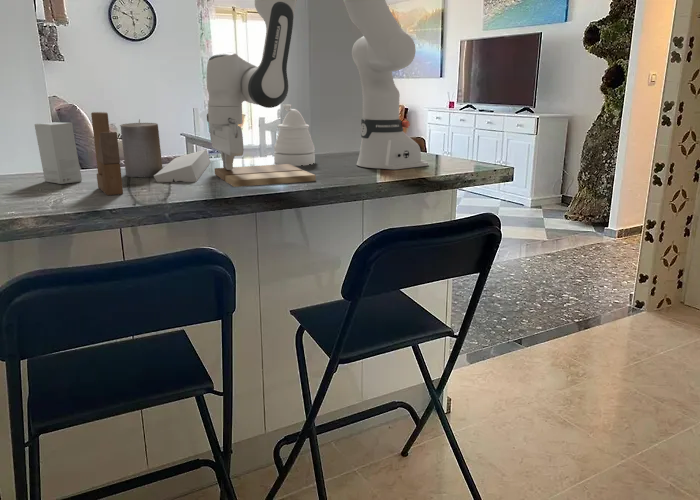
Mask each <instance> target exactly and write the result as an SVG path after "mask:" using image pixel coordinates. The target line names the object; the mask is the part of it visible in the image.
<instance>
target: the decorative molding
mask: <svg viewBox="0 0 700 500" xmlns="http://www.w3.org/2000/svg"><path fill="white" fill-rule="evenodd" d="M210 164H211V159H210V156H209V153H208V151H207V149H202V150H198V151H193V152H192V153H187V154H184V155H181V156H177V157H174V159H172V160H171V161H170V162H168V163H167V164H166V165H165V166H164V167H162V169H161V170H160V171H159V172H158V173H156V174H155V175H154V176H153V178H154V179H155V181H156V182H157V183H163V182H164V183H173V182H175V183H176V182H184V183H185V182H189V183H191V182H193V183H196V182H197V181H198V180H199V179H200V178H201V176H202V175H203V173H204V172H205V171H206V170H207V168H208V167H209V165H210Z"/></svg>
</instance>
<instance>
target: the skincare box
mask: <svg viewBox="0 0 700 500" xmlns="http://www.w3.org/2000/svg"><path fill="white" fill-rule="evenodd" d="M34 129H35V134H36V140H37V145H38V150H39V151H38V153H39V156H40V162H41V168H42V172H43V178H44V182H47V183H51V184H52V183H54V184H58V185H65V184H71V183H72V184H73V183H81V182H83V181H82V180H83V178H82V173H81V167H80V161H79V156H78V151H77V145H76V139H75V132H74V127H73V122H57V121H53V122H41V123H35V124H34Z"/></svg>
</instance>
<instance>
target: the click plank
mask: <svg viewBox="0 0 700 500" xmlns="http://www.w3.org/2000/svg"><path fill="white" fill-rule="evenodd" d="M289 171H303V169H301V168H300V167H298V166H293V165H291V164H279V165H278V164H265V165H251V166H249V165H248V166H233V169H232V170H227V169H225V168H223V167H216V168H215V167H214V175H215V176H217V177H218V178H220V179H221V180H222V181H225V182H226V180H225V176H227V175H242V174H258V173H273V172H289Z"/></svg>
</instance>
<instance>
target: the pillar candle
mask: <svg viewBox="0 0 700 500" xmlns="http://www.w3.org/2000/svg"><path fill="white" fill-rule="evenodd" d="M119 127H120V134H121V143H122V150H123V151H122V152H123V159H124V168H125V169H124V170H125V175H126V177H128V178H152V177H153V178H154V175H155V174H156V173H158V172H159V171H160V170H161V169H163V160H162V151H161V144H160V143H161V141H160V140H161V139H160V133H159V132H160V131H159V124H158V123H157V122H141V119H138V122H129V123H122V124H120V125H119Z"/></svg>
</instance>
